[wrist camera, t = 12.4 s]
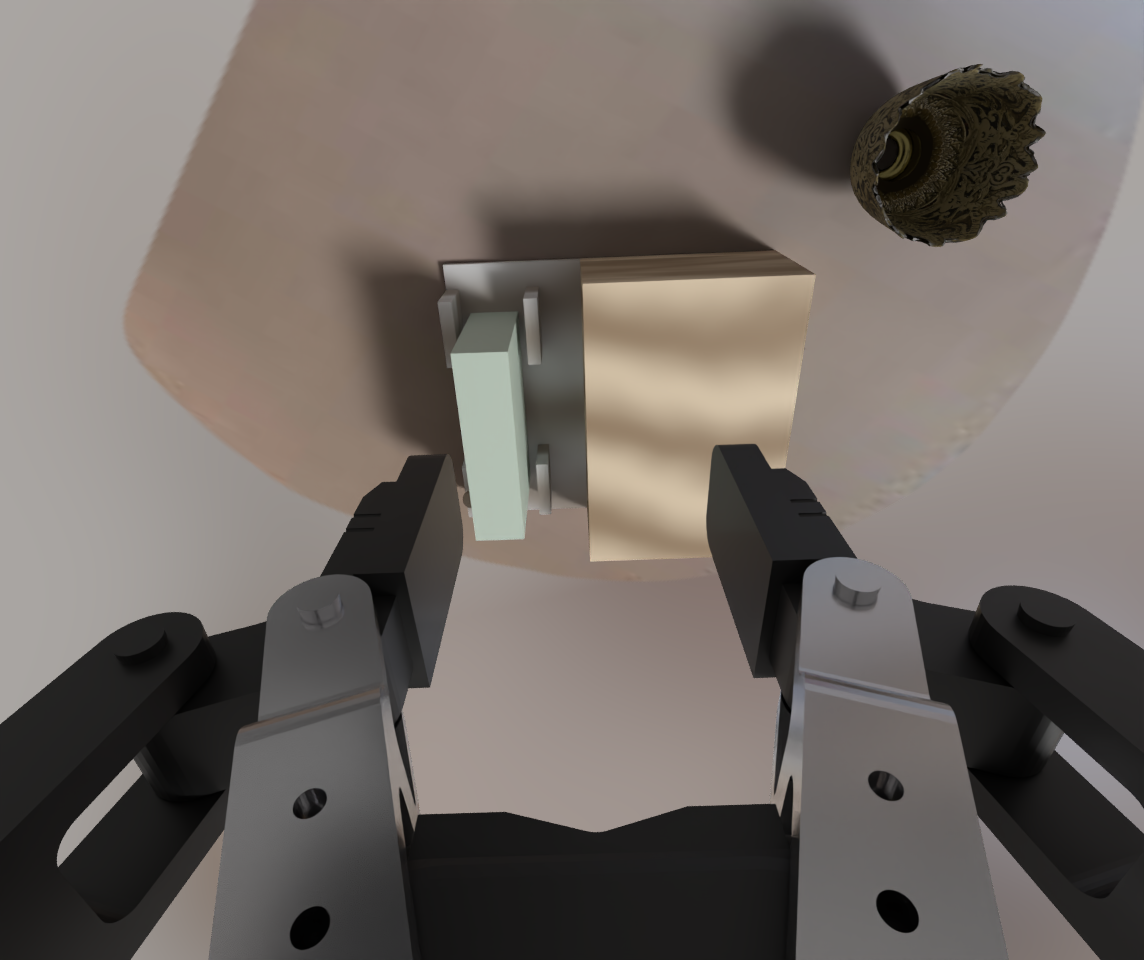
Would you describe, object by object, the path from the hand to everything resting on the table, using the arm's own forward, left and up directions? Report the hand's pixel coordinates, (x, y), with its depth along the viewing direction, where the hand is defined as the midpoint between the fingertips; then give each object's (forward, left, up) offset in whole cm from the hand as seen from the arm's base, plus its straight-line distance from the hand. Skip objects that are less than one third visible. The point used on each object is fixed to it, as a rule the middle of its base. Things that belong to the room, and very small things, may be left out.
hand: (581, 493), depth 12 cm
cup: (-4, +18, -30) cm, 35 cm away
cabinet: (+10, +2, -29) cm, 31 cm away
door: (+10, -5, -29) cm, 31 cm away
